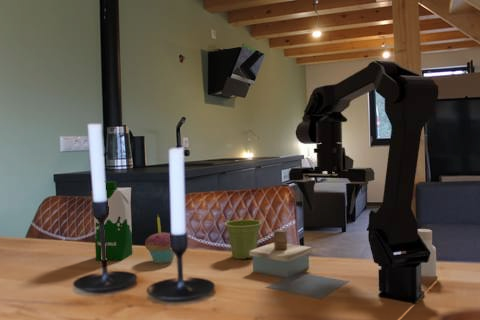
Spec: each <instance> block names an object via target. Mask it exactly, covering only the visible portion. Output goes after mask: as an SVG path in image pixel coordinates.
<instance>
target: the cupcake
mask: <svg viewBox="0 0 480 320" xmlns="http://www.w3.org/2000/svg"><path fill="white" fill-rule="evenodd" d="M156 221H157V233H153V234H151V235H149V236H148V237H147V238H146V240H145V243H144V244H145V245H144V247H145V249H146V250H147V251H148V252H149V254H150V256H151V259H152V261H153V263H154V264H155V263H156V264H168V263H171V262H173V261H174V256H175V253H174V254H173V252H172V251H171V249H170V234H171V233H170V232H167V231H166V232H164V231H163V232H162V228H161V219H160V217H159V215H157V218H156Z"/></svg>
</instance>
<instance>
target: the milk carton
mask: <svg viewBox="0 0 480 320" xmlns="http://www.w3.org/2000/svg"><path fill="white" fill-rule="evenodd" d="M105 182H106V190H107V198H108V206H109V215H108V217H107V219H106V220H105V222H104V230H105V242H106V258H107V260H106V261H123V260H125V259H126V258H128V257H129V256H131V255H132V254H133V238H132V237H133V235H132V234H133V232H132V230H133V229H132V209H131V201H132V200H131V197H132V195H131V194H132V187H118V186H117V181H116V180H115V181H114V180H112V181H110V180H109V181H106V180H105ZM92 197H93V192H92V191H91V198H92ZM93 221H94V223H93V224H94V247H95V260H96V261H102V260H101V245H100V226H99V222H98V220H97V219H96V218H95V217H94V216H93Z"/></svg>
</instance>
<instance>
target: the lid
mask: <svg viewBox="0 0 480 320" xmlns="http://www.w3.org/2000/svg"><path fill="white" fill-rule="evenodd" d="M287 234H288V233H287V229H286V230H285V229H277V230H273V240H274V241H273V242H271V243H268V244H266V245H262V246H259V247H257V248H256V249H253V250H251V251H249V255H250V256H256V257H262V258H268V259H274V260H280V261H286V262H289V261H291V260H294V259H296V258H298V257H300V256H303V255H305V254H307V253H309V254H310V253H312V252H313V251H312V250H313V247H312V246H306V245H298V244H292V243H291V244H289V243H288V238H287V237H288V236H287Z"/></svg>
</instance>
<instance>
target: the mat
mask: <svg viewBox="0 0 480 320" xmlns="http://www.w3.org/2000/svg"><path fill="white" fill-rule="evenodd" d="M348 283H350V280H349V281H348V280H343V279H339V278H333V277H325V276H321V275H317V274H316V275H315V274H311V273H310V274H309V273H303V272H299V273H297V274H295V275H293V276H291V277H289V278H285V277H283V278H282V279H279V280H277V281H276V282H274V283H272V284H270V285H267V286H265V288H266V289H271V290H275V291H281V292H285V293H289V294H293V295H299V296H303V297H307V298H311V299H318V300H323V299H324V298H326V297H328V296H329V295H331V294H332V293H334V292H335V291H337V290H338V289H340V288H342V287H343V286H345V285H346V284H348Z"/></svg>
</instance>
